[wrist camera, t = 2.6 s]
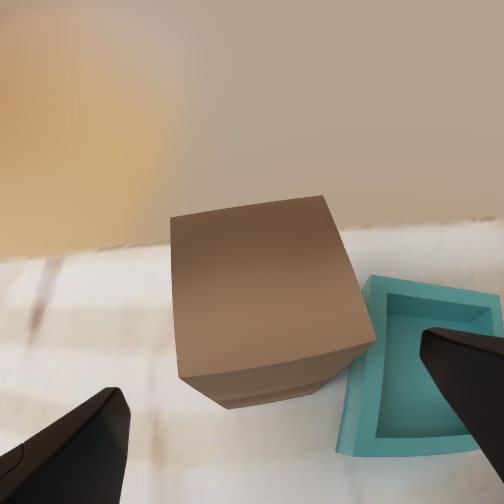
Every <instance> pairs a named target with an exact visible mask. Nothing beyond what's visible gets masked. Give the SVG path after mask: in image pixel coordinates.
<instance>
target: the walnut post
mask: <svg viewBox="0 0 504 504" xmlns="http://www.w3.org/2000/svg"><path fill="white" fill-rule="evenodd" d="M170 219H171V220H170V223H171V224H170V225H171V226H170V228H171V229H170V230H171V274H172V297H173V315H174V330H175V343H176V354H177V365H178V375H179V378H180V379H181V380H183V381H184V382H186V383H187V384H188V385H190V386H191V387H193V388H194V389H196V390H197V391H199V392H200V393H202V394H204V395H205V396H207V397H208V398H210V399H211V400H213V401H214V402H216V403H218V404H219V405H221V406H223V407H224V408H226V409H234V408H241V407H247V406H253V405H259V404H265V403H271V402H276V401H281V400H286V399H291V398H296V397H300V396H305V395H309V394H312V393H314V392H315V391H316V390H318V389H319V388H320V387H322V386H323V385H324V384H325V383H327V382H328V381H329V380H331V379H332V378H333V377H334V376H336V375H337V374H338V373H339V372H340V371H342V370H343V369H344V368H345V367H347V366H348V365H349V364H350V363H351V362H352V361H354V360H355V359H356V358H357V357H358V356H360V355H361V354H362V353H363V352H364V351H365V350H366V349H367V348H369V347H370V346H371V345H372V344H373V343H374V342H375V341H376V340H377V338H376V335H375V332H374V329H373V326H372V323H371V320H370V317H369V314H368V311H367V308H366V305H365V302H364V299H363V296H362V293H361V290H360V288H359V285H358V282H357V279H356V277H355V274H354V271H353V268H352V266H351V263H350V260H349V258H348V255H347V253H346V250H345V248H344V245H343V242H342V240H341V237H340V235H339V232H338V230H337V228H336V225H335V223H334V220H333V218H332V216H331V213H330V211H329V208H328V206H327V204H326V201H325V199H324V197H323V196H313V197H305V198H297V199H289V200H282V201H274V202H267V203H260V204H253V205H247V206H239V207H233V208H226V209H220V210H214V211H207V212H202V213H196V214H189V215H183V216H178V217H172V218H170Z"/></svg>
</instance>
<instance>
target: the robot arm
mask: <svg viewBox="0 0 504 504" xmlns="http://www.w3.org/2000/svg"><path fill="white" fill-rule="evenodd" d="M419 355H420V359H421V361H422V363H423V364H424V366H425V368H426V369H427V371H428V373H429V374H430V376H431V378H432V379H433V381H434V383H435V384H436V386H437V388H438V389H439V391H440V393H441V394H442V396H443V397H444V398H445V400H446V401H447V402H448V404H449V405H450V406H451V408H452V409H453V411H454V412H455V413H456V415H457V416H458V417H459V419H460V420H461V422H462V423H463V424H464V426H465V427H466V428H467V430H468V431H469V433H470V434H471V436H472V437H473V438H474V440H475V441H476V443H477V444H478V446H479V447H480V449H481V450H482V451H483V453H484V454H485V456H486V457H487V459H488V460H489V462H490V463H491V465H492V466H493V468H494V469H495V471H496V472H497V474H498V476H499V477H500V479H501V480H502V482H503V483H504V338H503V337H496V336H490V335H483V334H477V333H471V332H464V331H458V330H452V329H447V328H441V327H430V328H428V329H425V330H424V331H423V332H422V335H421V343H420V352H419ZM130 418H131V413H130V409H129V406H128V404H127V402H126V400H125V398H124V395H123V393H122V391H121V389H120V388H118V387H106V388H104V389H103V390H101V391H100V392H98V393H97V394H96V395H94V396H93V397H91V398H90V399H88V400H87V401H85V402H84V403H82V404H81V405H79V406H78V407H76V408H75V409H73V410H72V411H70V412H69V413H67V414H66V415H64V416H63V417H61V418H60V419H58V420H57V421H55V422H54V423H52V424H51V425H49V426H48V427H46V428H45V429H43V430H42V431H40V432H39V433H37V434H35V435H34V436H32V437H31V438H29V439H28V440H26V441H25V442H24V443H21V444H20V445H18V446H17V447H15V448H14V449H12V450H10V451H9V452H7V453H5V454H4V455H2V456H0V504H119V502H120V496H121V490H122V484H123V478H124V473H125V467H126V462H127V454H128V441H129V429H130Z"/></svg>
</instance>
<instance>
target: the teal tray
mask: <svg viewBox="0 0 504 504" xmlns="http://www.w3.org/2000/svg"><path fill="white" fill-rule="evenodd" d="M361 293H362V296H363V299H364V302H365V305H366V308H367V311H368V314H369V317H370V320H371V323H372V326H373V329H374V332H375V335H376V338H377V340H376V341H375V342H374V343H373V344H372V345H371V346H370V347H369V348H367V349H366V350H365V351H364V352H363V353H362V354H361V355H360V356H358V357H357V358H356V359H355V360H354V361H352V362H351V363H350V365H349V373H348V381H347V388H346V395H345V402H344V408H343V414H342V420H341V426H340V431H339V437H338V442H337V447H336V452H337V453H341V454H345V455H349V456H359V457H409V456H427V455H439V454H449V453H457V452H465V451H472V450H478V449H480V447H479V446H478V444H477V443H476V441H475V440H474V438H473V437H472V436H471V434H470V433H469V431H468V430H467V428H466V427H465V426H464V424H463V423H462V422H461V420H460V419H459V417H458V416H457V415H456V413H455V412H454V411H453V409H452V408H451V406H450V405H449V404H448V402H447V401H446V400H445V398H444V397H443V396H442V394H441V393H440V391H439V389H438V388H437V386H436V384H435V383H434V381H433V379H432V378H431V376H430V374H429V373H428V371H427V369H426V368H425V366H424V364H423V363H422V361H421V359H420V355H419V352H420V343H421V335H422V332H423V331H424V330H425V329H428V328H430V327H441V328H447V329H452V330H458V331H464V332H471V333H477V334H483V335H490V336H496V337H503V338H504V330H503V321H502V313H501V306H500V299H499V295H493V294H486V293H480V292H474V291H468V290H462V289H455V288H449V287H443V286H437V285H431V284H425V283H419V282H413V281H406V280H400V279H394V278H388V277H382V276H376V275H371V276H370V277H369V279H368V281H367V282H366V284H365V286H364V287H363V289H362V291H361Z"/></svg>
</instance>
